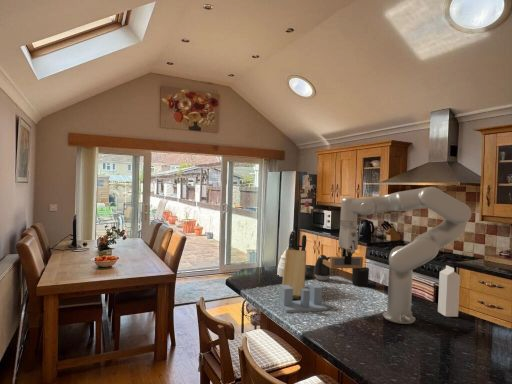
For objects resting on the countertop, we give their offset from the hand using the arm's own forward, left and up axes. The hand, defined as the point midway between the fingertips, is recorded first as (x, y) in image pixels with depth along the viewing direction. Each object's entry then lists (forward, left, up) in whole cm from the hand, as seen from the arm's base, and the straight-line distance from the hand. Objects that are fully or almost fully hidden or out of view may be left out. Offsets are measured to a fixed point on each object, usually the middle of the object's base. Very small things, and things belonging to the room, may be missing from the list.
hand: (346, 263), depth 155 cm
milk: (-13, -45, -22) cm, 52 cm away
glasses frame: (+4, 0, -2) cm, 4 cm away
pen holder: (+35, -29, -22) cm, 50 cm away
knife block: (+29, +14, -22) cm, 39 cm away
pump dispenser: (+48, -11, -22) cm, 53 cm away
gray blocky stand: (+5, +19, -21) cm, 29 cm away
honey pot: (+61, +7, -22) cm, 65 cm away
